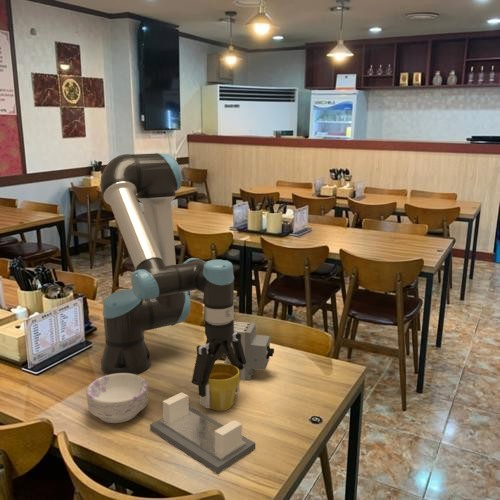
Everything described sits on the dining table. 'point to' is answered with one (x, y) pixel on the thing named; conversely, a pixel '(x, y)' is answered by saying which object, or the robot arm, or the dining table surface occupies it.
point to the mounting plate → (198, 452)
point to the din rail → (198, 433)
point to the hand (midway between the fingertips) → (220, 398)
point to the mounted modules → (224, 436)
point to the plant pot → (223, 385)
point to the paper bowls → (117, 397)
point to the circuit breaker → (252, 349)
